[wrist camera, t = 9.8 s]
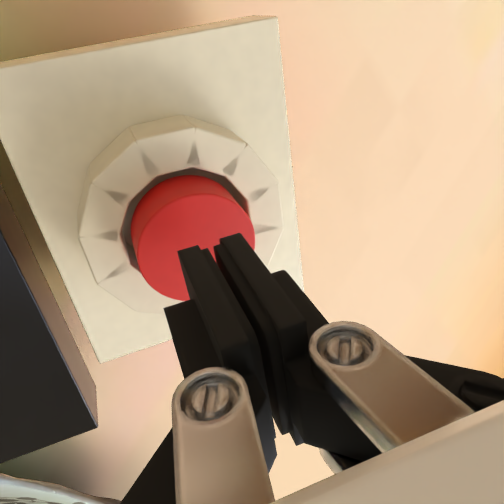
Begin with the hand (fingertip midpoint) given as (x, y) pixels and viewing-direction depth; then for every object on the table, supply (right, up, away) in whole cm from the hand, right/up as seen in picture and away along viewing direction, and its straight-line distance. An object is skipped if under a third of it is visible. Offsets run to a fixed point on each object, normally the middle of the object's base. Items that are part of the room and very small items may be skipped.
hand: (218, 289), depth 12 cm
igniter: (-2, +3, +6) cm, 7 cm away
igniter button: (-1, +2, +3) cm, 4 cm away
